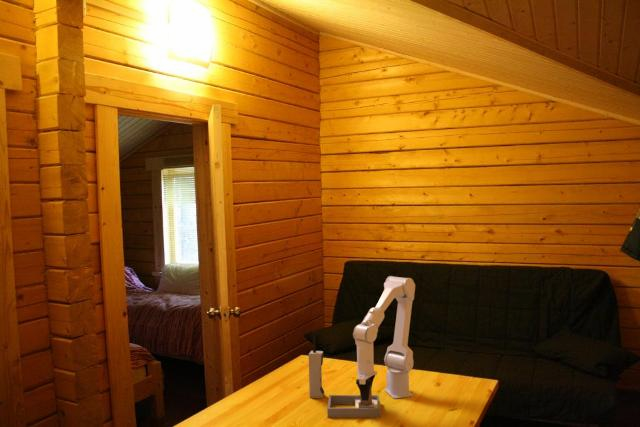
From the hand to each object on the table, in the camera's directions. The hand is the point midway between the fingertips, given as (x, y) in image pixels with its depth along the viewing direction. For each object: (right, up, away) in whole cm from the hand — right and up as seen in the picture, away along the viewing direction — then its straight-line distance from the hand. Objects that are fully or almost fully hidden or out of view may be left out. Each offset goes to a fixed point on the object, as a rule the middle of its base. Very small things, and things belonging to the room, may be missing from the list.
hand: (366, 397), depth 181 cm
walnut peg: (0, -2, 0) cm, 2 cm away
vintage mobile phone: (-17, -5, +14) cm, 23 cm away
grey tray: (-4, -5, 0) cm, 6 cm away
